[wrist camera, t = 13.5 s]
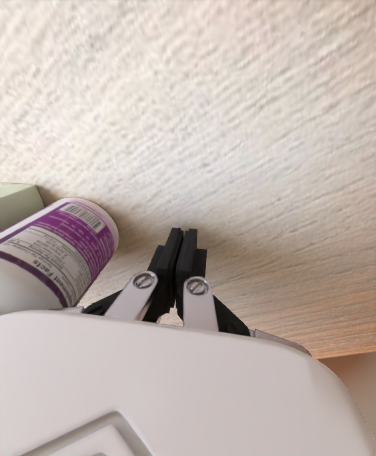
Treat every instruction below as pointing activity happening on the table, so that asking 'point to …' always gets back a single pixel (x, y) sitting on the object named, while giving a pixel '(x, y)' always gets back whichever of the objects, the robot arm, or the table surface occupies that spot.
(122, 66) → the table surface
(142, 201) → the table surface
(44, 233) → the pill bottle
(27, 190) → the sage block
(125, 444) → the robot arm
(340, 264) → the table surface
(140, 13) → the table surface
